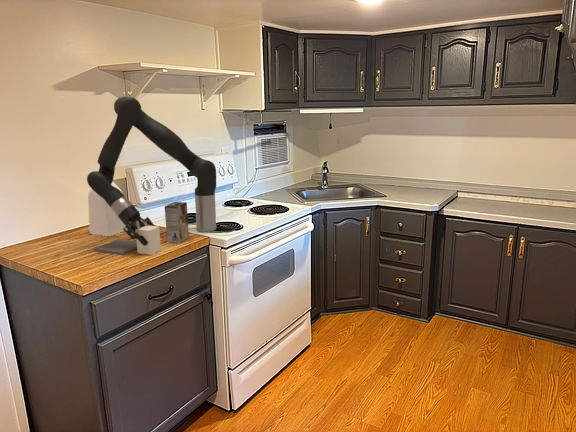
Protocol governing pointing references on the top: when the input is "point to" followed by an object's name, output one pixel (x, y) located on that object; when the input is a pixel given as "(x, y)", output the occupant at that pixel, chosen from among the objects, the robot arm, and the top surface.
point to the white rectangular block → (149, 240)
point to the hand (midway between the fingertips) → (152, 241)
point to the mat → (118, 247)
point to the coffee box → (176, 222)
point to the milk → (103, 216)
